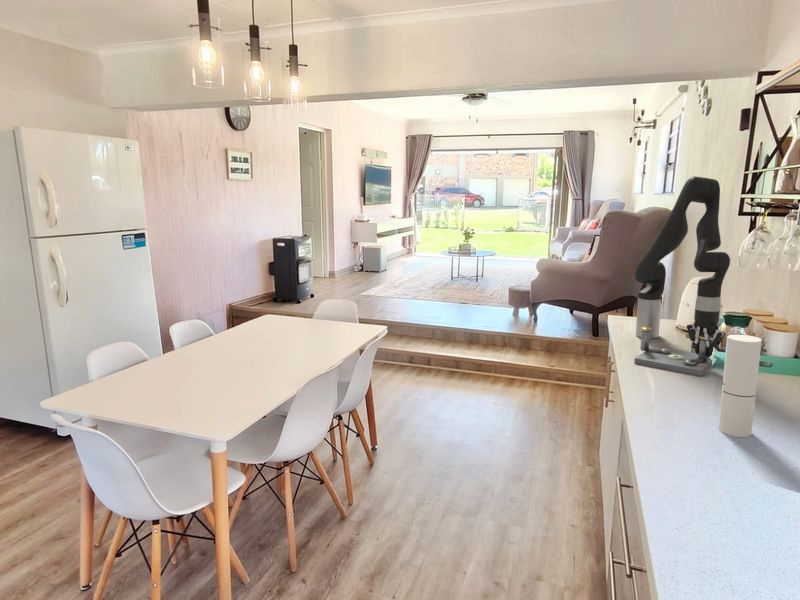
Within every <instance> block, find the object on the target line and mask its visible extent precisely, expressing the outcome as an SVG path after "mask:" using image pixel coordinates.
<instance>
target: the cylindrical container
mask: <svg viewBox="0 0 800 600" xmlns="http://www.w3.org/2000/svg"><path fill="white" fill-rule="evenodd" d="M762 341H763V340H762V338H760V337H757V336H753V335H747V334H729V335H727V336H726V345H725V358H724V366H723V367H724V368H723V377H722V387H721V399H720V406H719V407H720V408H719V409H720V410H719V418H718V430H719V431H720V432H722V433H724V434H725V435H729V436H733V437H737V438H748V437H751V436H752V433H753V425H754V424H753V423H754V415H755V404H756V396H757V387H758V377H759V370H760V369H759V368H760V361H761V352H762V343H763V342H762Z"/></svg>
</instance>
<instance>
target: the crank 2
mask: <svg viewBox="0 0 800 600" xmlns="http://www.w3.org/2000/svg"><path fill="white" fill-rule="evenodd" d="M709 338H711V337H709ZM699 339H700V343H699V354H698V358H696V359H684V360H683V364H685V365H688V366H695V365H696V363H697V362H701V361H708V357H706V356H705V350H706V347H707V346H706V340H705V337H704V336H699Z"/></svg>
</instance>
